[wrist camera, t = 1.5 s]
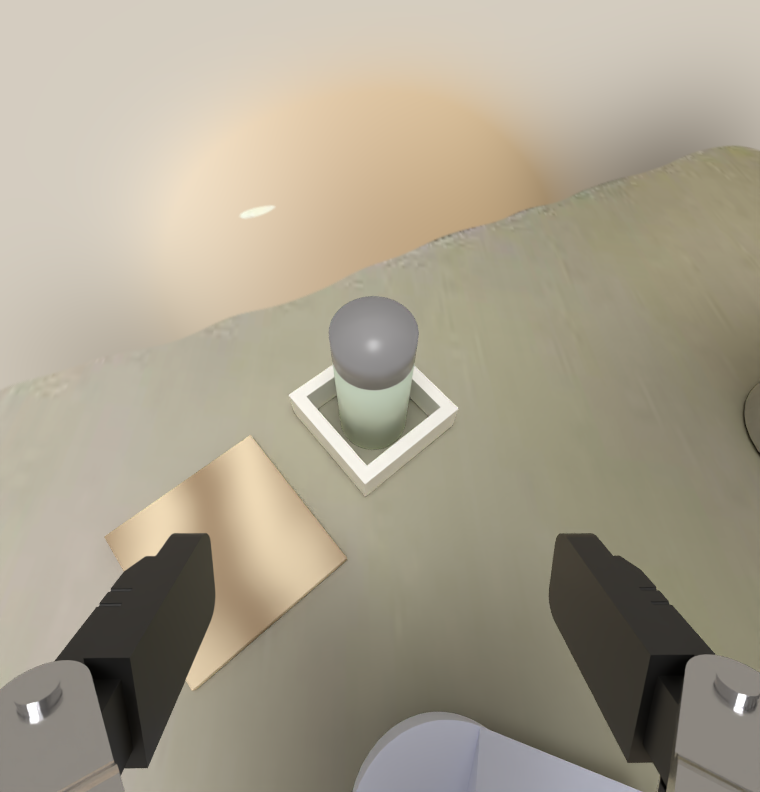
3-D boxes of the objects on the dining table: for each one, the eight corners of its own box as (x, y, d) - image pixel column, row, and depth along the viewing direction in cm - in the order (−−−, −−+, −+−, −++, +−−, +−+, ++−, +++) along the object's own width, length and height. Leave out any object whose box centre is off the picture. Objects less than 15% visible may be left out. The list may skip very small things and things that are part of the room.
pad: (252, 438, 31) (250, 434, 31) (347, 559, 28) (346, 557, 27) (109, 538, 28) (104, 536, 28) (195, 690, 25) (191, 690, 24)
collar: (379, 352, 35) (380, 332, 33) (452, 425, 32) (458, 408, 30) (294, 412, 32) (288, 395, 30) (365, 496, 30) (365, 484, 27)
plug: (377, 379, 34) (378, 282, 25) (419, 422, 32) (437, 336, 23) (327, 415, 32) (310, 326, 23) (368, 462, 31) (368, 386, 22)
